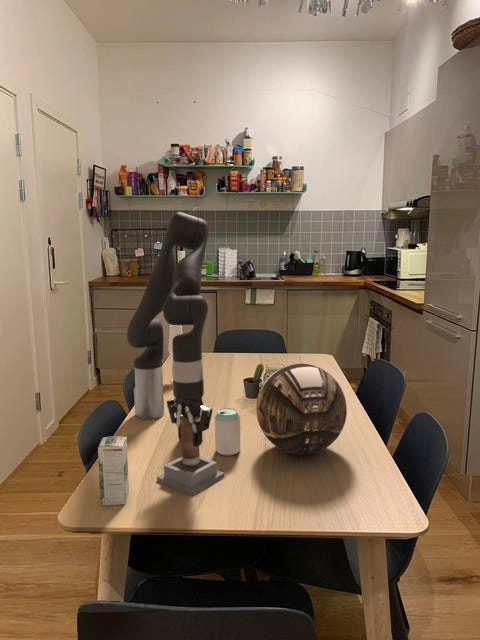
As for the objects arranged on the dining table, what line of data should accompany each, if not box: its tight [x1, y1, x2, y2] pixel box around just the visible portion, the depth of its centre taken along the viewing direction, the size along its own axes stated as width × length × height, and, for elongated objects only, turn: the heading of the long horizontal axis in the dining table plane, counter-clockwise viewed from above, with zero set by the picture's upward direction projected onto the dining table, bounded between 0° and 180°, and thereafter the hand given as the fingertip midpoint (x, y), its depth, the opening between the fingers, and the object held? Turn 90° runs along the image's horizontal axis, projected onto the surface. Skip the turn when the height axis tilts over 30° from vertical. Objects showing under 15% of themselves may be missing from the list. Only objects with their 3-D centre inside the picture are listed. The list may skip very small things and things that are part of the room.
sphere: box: [255, 363, 348, 456], centre depth 141 cm, size 25×25×25 cm
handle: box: [180, 416, 201, 467], centre depth 126 cm, size 5×5×12 cm
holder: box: [156, 455, 225, 497], centre depth 127 cm, size 12×12×4 cm
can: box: [214, 407, 241, 457], centre depth 142 cm, size 7×7×12 cm
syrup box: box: [97, 435, 130, 507], centre depth 117 cm, size 6×6×14 cm
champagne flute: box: [168, 324, 184, 380], centre depth 210 cm, size 7×7×24 cm
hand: (190, 442), depth 126 cm, fingers closed on handle, 4 cm apart
